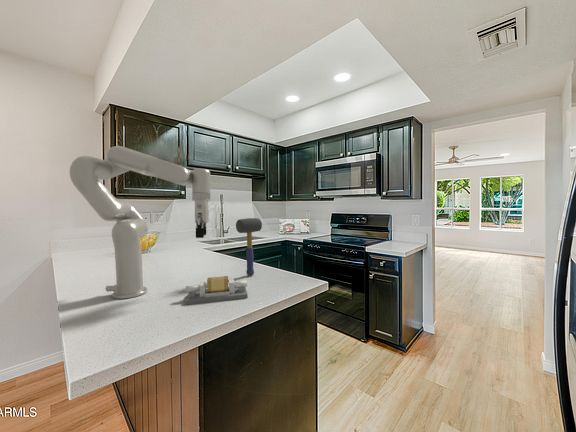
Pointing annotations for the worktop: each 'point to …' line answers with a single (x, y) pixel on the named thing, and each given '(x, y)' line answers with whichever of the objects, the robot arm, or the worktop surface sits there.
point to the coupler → (217, 284)
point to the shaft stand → (201, 296)
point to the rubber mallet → (249, 238)
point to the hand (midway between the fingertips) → (201, 236)
